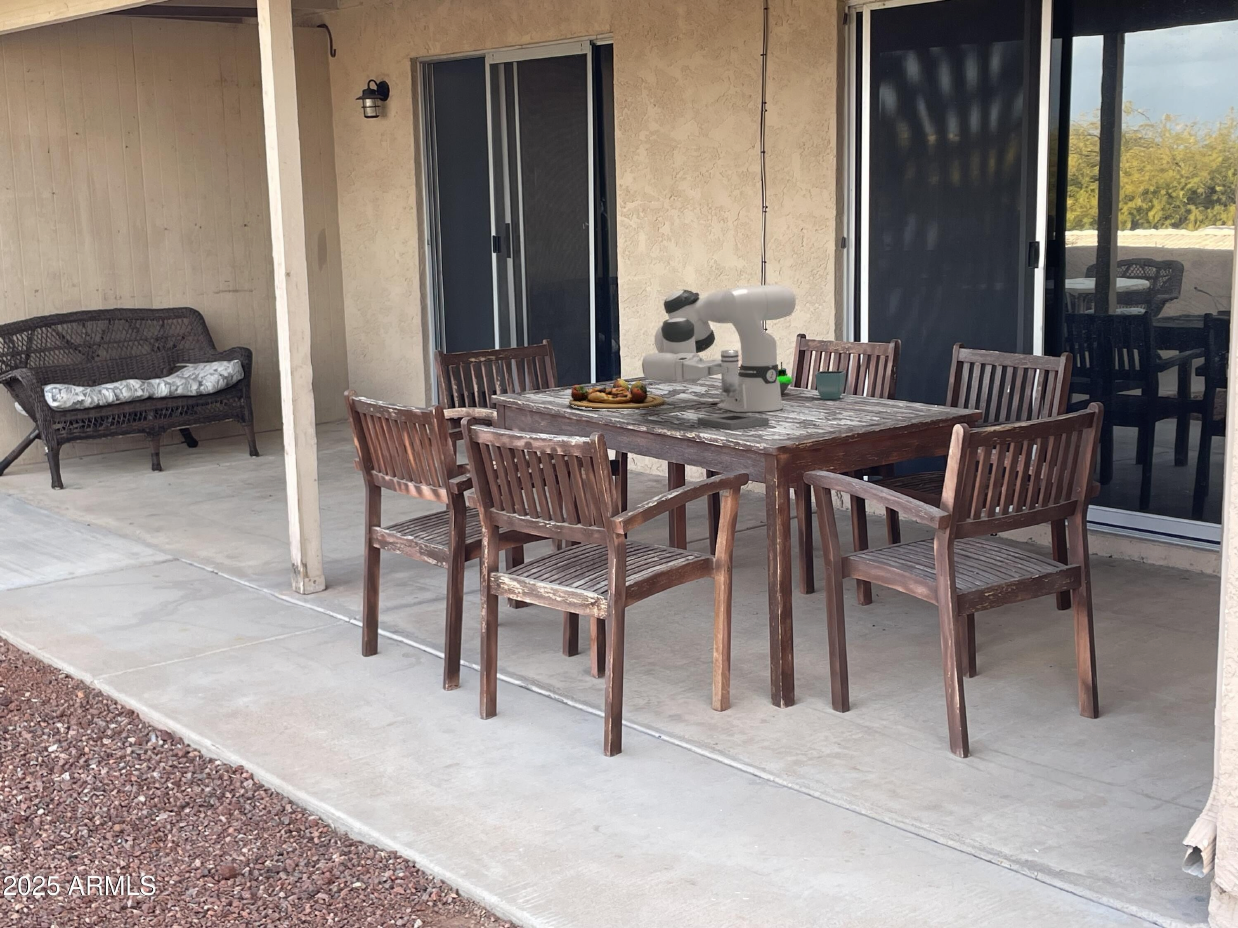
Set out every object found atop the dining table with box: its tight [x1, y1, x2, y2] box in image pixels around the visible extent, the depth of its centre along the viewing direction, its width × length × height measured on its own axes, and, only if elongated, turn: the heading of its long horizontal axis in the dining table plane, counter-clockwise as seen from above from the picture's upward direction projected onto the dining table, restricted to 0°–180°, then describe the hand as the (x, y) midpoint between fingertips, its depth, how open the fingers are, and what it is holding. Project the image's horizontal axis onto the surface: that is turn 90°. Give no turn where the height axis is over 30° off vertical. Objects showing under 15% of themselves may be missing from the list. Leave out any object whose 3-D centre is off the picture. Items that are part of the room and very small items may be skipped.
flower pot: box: [814, 370, 847, 401], centre depth 456 cm, size 9×9×9 cm
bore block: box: [696, 412, 770, 431], centre depth 406 cm, size 16×14×2 cm
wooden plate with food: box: [568, 378, 666, 409], centre depth 460 cm, size 32×32×8 cm
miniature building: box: [777, 361, 793, 395], centre depth 473 cm, size 12×12×11 cm
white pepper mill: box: [720, 349, 740, 394], centre depth 403 cm, size 5×5×12 cm
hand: (732, 369), depth 403 cm, fingers closed on white pepper mill, 5 cm apart
